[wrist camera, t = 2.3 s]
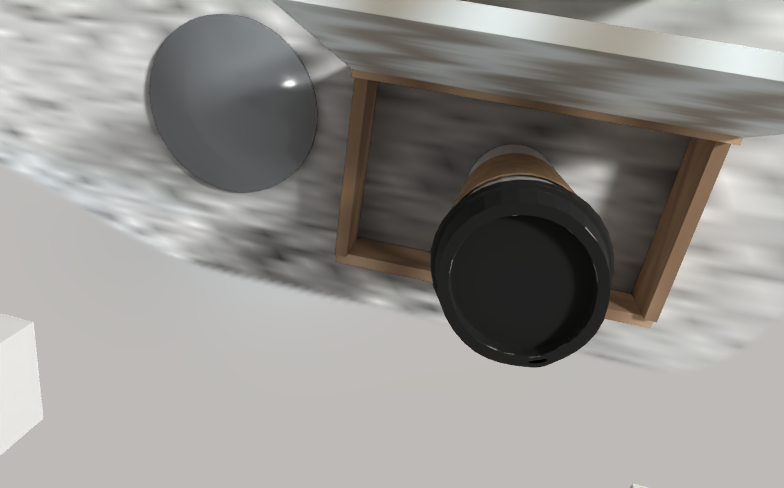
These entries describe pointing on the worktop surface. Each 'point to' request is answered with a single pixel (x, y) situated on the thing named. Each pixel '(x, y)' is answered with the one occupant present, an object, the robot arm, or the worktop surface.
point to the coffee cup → (522, 261)
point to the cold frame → (551, 102)
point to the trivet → (233, 102)
